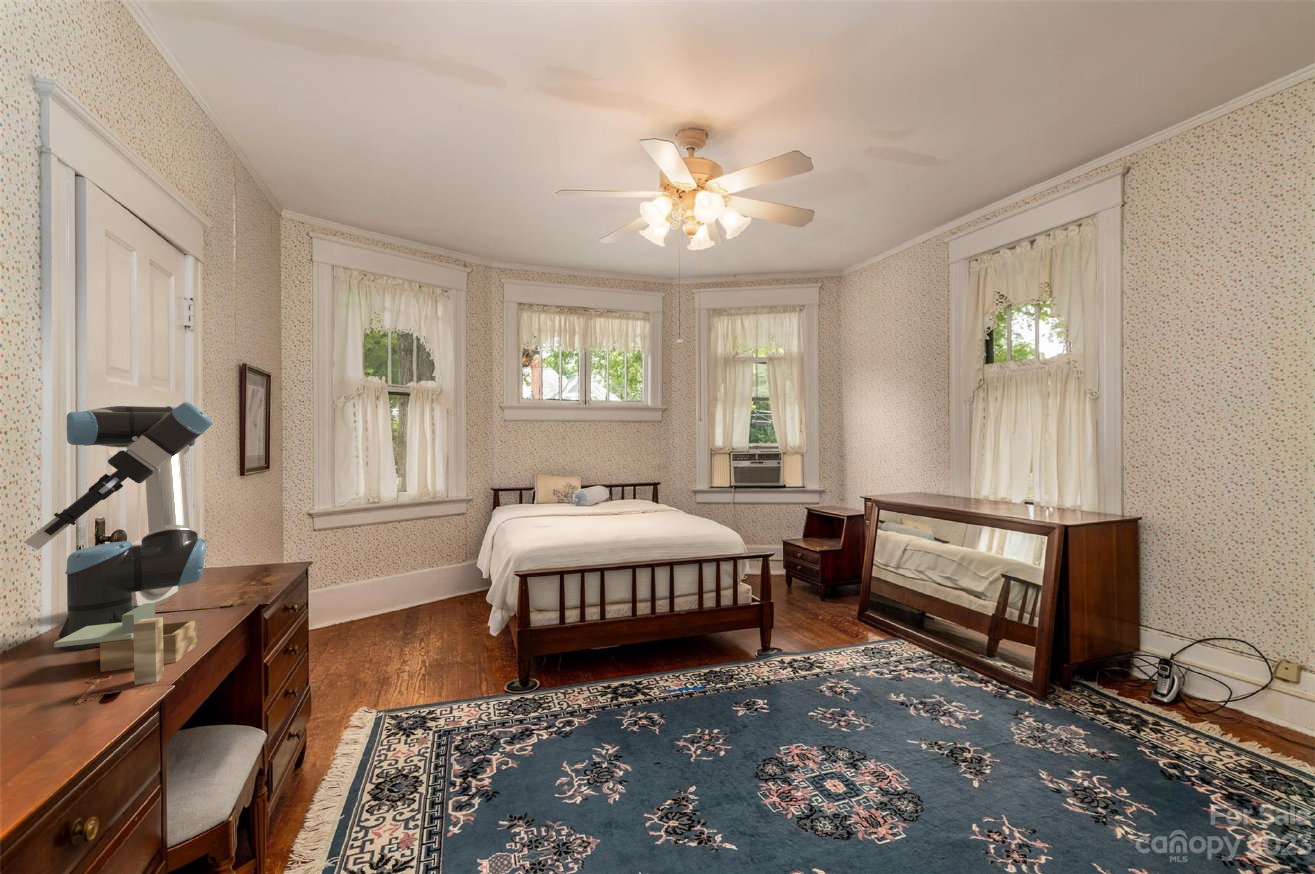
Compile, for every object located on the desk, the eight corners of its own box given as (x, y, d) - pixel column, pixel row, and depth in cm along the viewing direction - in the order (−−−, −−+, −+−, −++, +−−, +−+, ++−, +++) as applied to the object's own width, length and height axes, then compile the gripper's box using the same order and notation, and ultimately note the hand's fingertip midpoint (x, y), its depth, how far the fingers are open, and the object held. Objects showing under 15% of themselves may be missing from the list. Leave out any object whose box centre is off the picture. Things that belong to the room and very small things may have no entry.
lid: (86, 630, 132) (86, 608, 132) (157, 623, 136) (156, 601, 137) (54, 647, 121) (53, 623, 121) (132, 638, 125) (131, 615, 125)
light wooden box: (128, 653, 135) (128, 626, 135) (197, 644, 139) (196, 619, 139) (100, 671, 123) (100, 643, 123) (175, 662, 128) (175, 634, 128)
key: (104, 703, 110) (126, 676, 123) (105, 698, 110) (126, 671, 123) (62, 708, 107) (88, 680, 120) (62, 703, 107) (89, 675, 120)
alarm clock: (155, 599, 183) (154, 534, 183) (184, 598, 184) (183, 533, 184) (108, 616, 165) (106, 545, 165) (141, 614, 166) (139, 543, 166)
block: (142, 678, 119) (141, 619, 119) (163, 675, 121) (162, 617, 121) (134, 684, 116) (133, 624, 116) (156, 681, 117) (155, 621, 117)
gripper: (123, 447, 133) (15, 530, 121) (123, 448, 123) (6, 538, 112) (154, 470, 136) (52, 552, 125) (157, 472, 127) (47, 561, 115)
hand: (31, 545), depth 118 cm, fingers closed
